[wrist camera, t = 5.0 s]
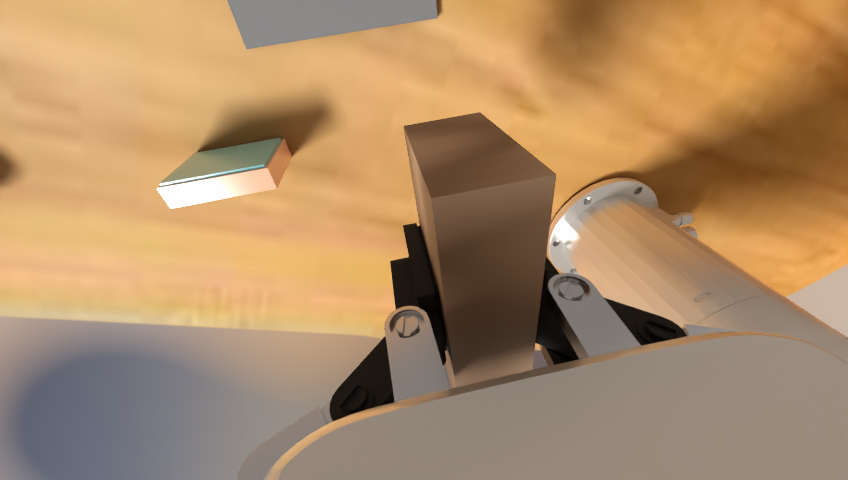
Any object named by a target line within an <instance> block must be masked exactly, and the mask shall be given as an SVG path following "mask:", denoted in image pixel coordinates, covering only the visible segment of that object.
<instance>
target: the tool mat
mask: <svg viewBox="0 0 848 480" xmlns="http://www.w3.org/2000/svg"><path fill="white" fill-rule="evenodd" d="M227 1H228V3H229V6H230V8H231V11H232V13H233V16H234V18H235V21H236V23H237V26H238V28H239V31H240V34H241V36H242V39H243V41H244V44H245V46H246V49H251V48H257V47H263V46H269V45H275V44H281V43H287V42H294V41H300V40H306V39H312V38H318V37H324V36H330V35H336V34H343V33H349V32H355V31H361V30H367V29H373V28H379V27H386V26H392V25H398V24H404V23H410V22H416V21H422V20H428V19H435V18H438V17H437V5H436V0H227Z"/></svg>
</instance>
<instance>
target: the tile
mask: <svg viewBox="0 0 848 480" xmlns="http://www.w3.org/2000/svg"><path fill="white" fill-rule="evenodd" d="M291 157H292V156H291V153H290V151H289V148H288V146H287V143H286V141H285V139H281V137H280V138H274V139H269V140H263V141H258V142H252V143H247V144H241V145H235V146H230V147H224V148H219V149H213V150H208V151H202V152H197V153H195V154H193V155H192V156H191V157H190V158H189V159H188V160H186V161H185V162H184V163H183V164H182V165H181V166H179V167H178V168H177V169H176V170H175V171H173V172H172V173H171V174H170V175H169V176H168V177H166V178H165V179H164V180H163V181H162V182H161V183H159V184H160V186H159V187H158V188H156V189H157V190H158V192H159V193H160V194H161V196H162V197H163V199H164V200H165V202H166V203H167V204H168V206H169V207H170V209H172V208H177V207H182V206H188V205H193V204H198V203H204V202H209V201H214V200H219V199H225V198H230V197H235V196H240V195H246V194H251V193H256V192H262V191H267V190H272V189H277V187H278V185H279V183H280V181H281V179H282V177H283V174H284V172H285V170H286V168H287V166H288V164H289V162H290V159H291Z"/></svg>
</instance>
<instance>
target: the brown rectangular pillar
mask: <svg viewBox="0 0 848 480" xmlns="http://www.w3.org/2000/svg"><path fill="white" fill-rule="evenodd" d="M404 131H405V138H406V144H407V150H408V156H409V162H410V168H411V174H412V180H413V186H414V193H415V199H416V205H417V211H418V217H419V223H420V226H421V229H422V232H423V236H424V240H425V243H426V247H427V250H428V254H429V257H430V261H431V265H432V268H433V272H434V275H435V279H436V282H437V286H438V290H439V295H440V301H441V308H442V315H443V322H444V329H445V336H446V343H447V351H445V354H446V360H447V361H446V362H445V364H446V368H447V373H448V377H449V381H450V385H451V388H456V387H460V386H464V385H469V384H473V383H477V382H482V381H486V380H490V379H495V378H499V377H503V376H508V375H512V374H517V373H521V372H525V371H530V370H532V365H533V357H534V349H535V341H536V333H537V325H538V317H539V309H540V301H541V293H542V285H543V277H544V269H545V261H546V253H547V245H548V237H549V229H550V221H551V212H552V204H553V196H554V188H555V180H556V174H555V173H554V172H553V171H552V170H550V169H549V168H548V167H547V166H545V165H544V164H543V163H542V162H540V161H539V160H538V159H537V158H535V157H534V156H533V155H532V154H531V153H529V152H528V151H527V150H526V149H524V148H523V147H522V146H521V145H519V144H518V143H517V142H516V141H514V140H513V139H512V138H511V137H510V136H508V135H507V134H506V133H505V132H503V131H502V130H501V129H500V128H498V127H497V126H496V125H495V124H493V123H492V122H491V121H490V120H489V119H487V118H486V117H485V116H484V115H482V114H481V113H474V114H469V115H463V116H457V117H452V118H446V119H441V120H435V121H429V122H424V123H418V124H413V125H407V126H404Z"/></svg>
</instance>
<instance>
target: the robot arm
mask: <svg viewBox="0 0 848 480" xmlns="http://www.w3.org/2000/svg"><path fill="white" fill-rule="evenodd" d="M692 222H693V215H692V214H691V213H690V212H687V211H686V212H681V213H677V214H673V215H670V214H668V213H666V212H665V211H663V210H662V209H660V208H659V207H658V200H657V197H656V195H655V193H654V192H653V190H652V189H651V188H649V187H648V186H647V185H645V184H643V183H642V182H640V181H638V180H636V179H631V178H612V179H607V180H604V181H601V182H598V183H596V184H593V185H591V186H589V187H588V188H586V189H584V190H582V191H581V192H579V193H578V194H577V195H575V196H574V197H573V198H571V199H570V200H569V201H568V202H567V203H566V204H565V205H564V206H563V207H562V208H561V210H560V211H559V212H558V213H557V215H556V216H555V218H554V220H553V221H552V223H551V225H550V229H549V237H548V245H547V255H548V258H549V259H550V260H551V262H552V263H553V265H554V266H555V267H556V268H557V269H558V270H560V271H562V272H563V273H561V274H559V273H558V271H557V270H556V269H555V268H554V266H553V265H552V264H551V262H550V261H549V260H548V258H547V257H546V261H545V269H544V277H543V285H542V293H541V301H540V309H539V317H538V325H537V333H536V341H535V343H537V344H540V348H541V351H542V354H543V355H544V358H545V360H546V362H547V364H548V367H543V368H539V369H535V370H530V371H525V372H521V373H517V374H512V375H508V376H503V377H499V378H495V379H490V380H486V381H482V382H477V383H473V384H469V385H464V386H460V387H456V388H451V389H450V388H449V385H448V382H447V378H446V375H445V371H444V368H443V365H444V364H445V362H446V361H447V360H446V354H445V351H447V343H446V336H445V329H444V322H443V315H442V308H441V301H440V295H439V290H438V286H437V282H436V279H435V275H434V272H433V268H432V265H431V261H430V257H429V254H428V250H427V247H426V243H425V240H424V236H423V232H422V229H421V226H417V224H416V223H414V224H409V225H404V226H403V228H404V233H405V238H406V243H407V248H408V253H409V257H408V258H403V259H398V260H393V261H391V272H392V280H393V289H394V297H395V306H396V310H395V311H393V312H392V313H391V314H390V315H389V316H388V317H387V319H386V322H385V337H384V338H383V339H382V340H381V341H380V343H379V344H378V345H377V346H376V347H375V348H374V349H373V350H372V351H371V352H370V354H369V355H368V356H367V357H366V358H365V359H364V360H363V361H362V362H361V363H360V365H359V366H358V367H357V368H356V369H355V370H354V371H353V372H352V374H351V375H350V376H349V377H348V378H347V379H346V380H345V381H344V382H343V383H342V384H341V386H340V387H339V388H338V389H337V391H336V392H335V394H334V395H333V397H332V399H331V402H330V403H328V404H327V405H325V406H324V407H322V408H320V406H318V407H316V408H315V409H313V410H311V411H310V412H309V413H307V414H305V415H304V416H303V417H301V418H299V419H298V420H296V421H295V422H293V423H292V424H290V425H289V426H287V427H286V428H284V429H283V430H281V431H280V432H278V433H277V434H275V435H274V436H272V437H271V438H269V439H268V440H266V441H265V442H263V443H262V444H260V445H259V446H257V447H256V448H255V449H254V450H253V451H251V452H250V453H249V454H248V456H247V457H246V458H245V460H244V461H243V463H242V465H241V467H240V470H239V472H238V480H848V337H846V336H844V335H843V334H841V333H840V332H838V331H837V330H835V329H833V328H831V327H830V326H829V325H827V324H825V323H824V322H822V321H821V320H819V319H818V318H816V317H815V316H813V315H811V314H810V313H808V312H807V311H805V310H804V309H802V308H801V307H799V306H798V305H796V304H795V303H793V302H792V301H790V300H789V299H787V298H786V297H784V296H783V295H781V294H780V293H778V292H777V291H775V290H774V289H772V288H771V287H769V286H768V285H766V284H765V283H763V282H762V281H760V280H759V279H757V278H756V277H754V276H753V275H751V274H750V273H748V272H747V271H745V270H744V269H742V268H741V267H739V266H738V265H736V264H735V263H733V262H731V261H730V260H728V259H727V258H725V257H724V256H722V255H721V254H719V253H718V252H716V251H715V250H713V249H712V248H710V247H709V246H707V245H706V244H704V243H703V242H701V241H700V240H698V239H697V232H696V230H695V229H694V228H693V227H690V226H687V227H682V228H680V227H679V226H681V225H686V224H690V223H692Z"/></svg>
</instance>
